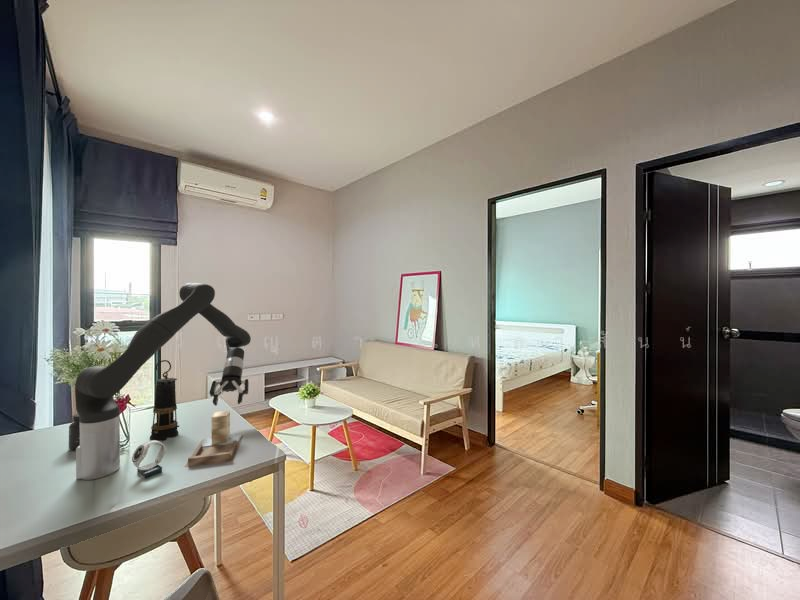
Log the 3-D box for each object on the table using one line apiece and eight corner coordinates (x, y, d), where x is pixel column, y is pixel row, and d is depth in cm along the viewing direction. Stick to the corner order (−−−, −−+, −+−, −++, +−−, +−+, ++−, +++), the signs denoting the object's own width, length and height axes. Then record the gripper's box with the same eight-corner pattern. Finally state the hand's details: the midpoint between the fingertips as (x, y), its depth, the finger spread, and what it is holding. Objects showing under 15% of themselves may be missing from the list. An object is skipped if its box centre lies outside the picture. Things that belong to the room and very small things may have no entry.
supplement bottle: (81, 451, 114) (81, 418, 114) (62, 451, 114) (62, 417, 114) (100, 442, 121) (100, 411, 121) (82, 442, 121) (82, 410, 121)
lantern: (181, 436, 127) (180, 360, 127) (152, 443, 120) (152, 364, 120) (175, 429, 133) (175, 357, 133) (147, 436, 127) (147, 360, 126)
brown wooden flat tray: (184, 471, 102) (184, 459, 102) (202, 443, 121) (202, 432, 121) (233, 465, 106) (233, 453, 106) (243, 438, 125) (243, 428, 125)
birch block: (211, 444, 117) (211, 417, 117) (215, 438, 122) (215, 412, 121) (226, 442, 118) (226, 415, 118) (229, 436, 123) (229, 410, 123)
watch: (129, 481, 97) (129, 445, 96) (160, 469, 103) (160, 435, 103) (137, 487, 94) (137, 450, 93) (168, 474, 100) (168, 439, 100)
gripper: (213, 365, 137) (205, 400, 126) (250, 364, 141) (245, 398, 130) (216, 375, 142) (209, 409, 131) (251, 373, 146) (247, 406, 135)
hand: (227, 404), depth 131 cm, fingers open, 8 cm apart
